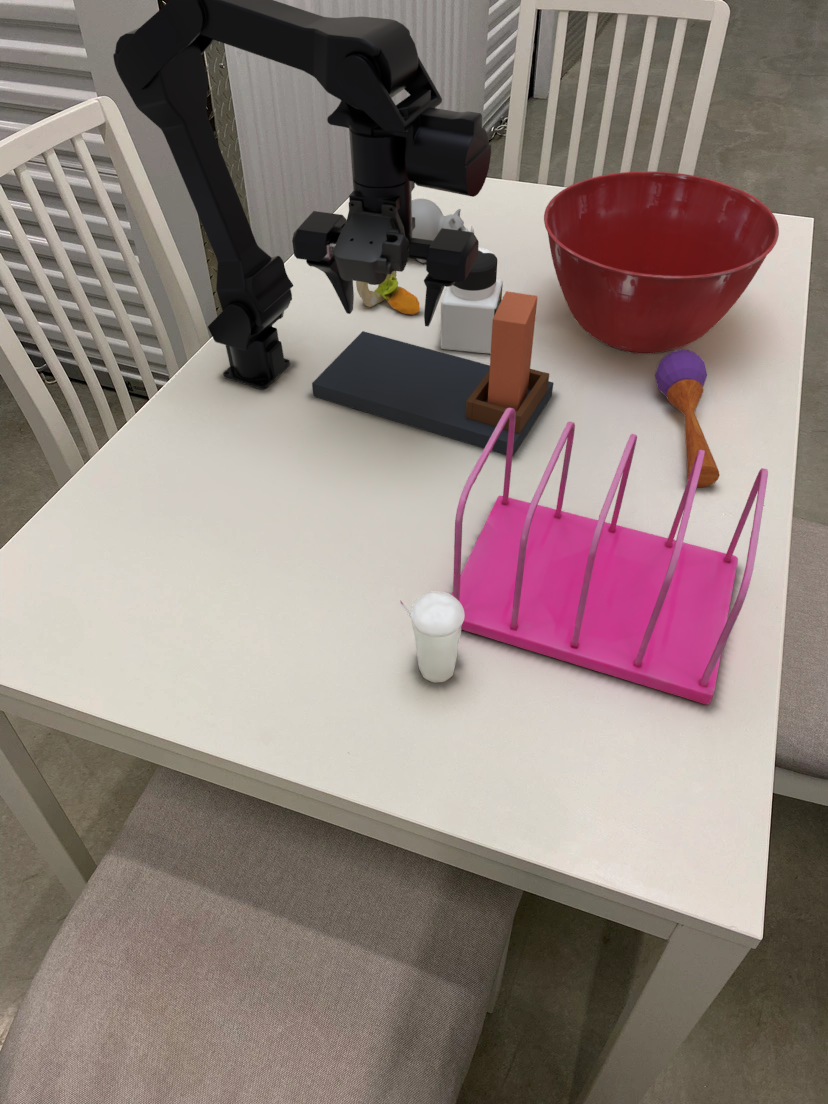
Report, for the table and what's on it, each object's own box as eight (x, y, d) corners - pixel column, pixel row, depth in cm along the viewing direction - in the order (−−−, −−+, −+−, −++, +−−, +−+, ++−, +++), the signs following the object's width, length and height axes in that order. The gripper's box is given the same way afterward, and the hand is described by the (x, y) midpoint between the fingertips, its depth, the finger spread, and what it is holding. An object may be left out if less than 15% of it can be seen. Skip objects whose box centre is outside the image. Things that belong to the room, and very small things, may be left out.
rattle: (377, 328, 113) (373, 249, 105) (350, 301, 118) (343, 224, 110) (423, 312, 116) (423, 235, 107) (395, 287, 121) (392, 211, 112)
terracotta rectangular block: (486, 416, 96) (492, 318, 87) (498, 387, 100) (505, 290, 91) (516, 422, 96) (525, 324, 86) (527, 392, 99) (537, 295, 90)
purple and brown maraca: (676, 460, 87) (652, 343, 100) (674, 497, 92) (652, 381, 104) (734, 454, 86) (703, 336, 99) (730, 492, 91) (700, 375, 103)
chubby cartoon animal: (465, 274, 123) (466, 219, 116) (390, 262, 126) (388, 207, 119) (479, 252, 127) (481, 198, 121) (407, 241, 130) (406, 187, 124)
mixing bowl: (512, 367, 106) (521, 255, 95) (555, 262, 125) (567, 158, 113) (737, 405, 100) (776, 290, 89) (748, 289, 118) (781, 181, 107)
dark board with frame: (313, 396, 103) (309, 366, 100) (363, 343, 111) (361, 314, 107) (512, 457, 94) (515, 426, 91) (551, 395, 102) (555, 365, 99)
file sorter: (497, 506, 89) (507, 387, 77) (734, 568, 82) (783, 448, 71) (441, 625, 78) (442, 507, 67) (709, 707, 72) (762, 592, 60)
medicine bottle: (492, 355, 108) (498, 271, 100) (440, 349, 109) (440, 266, 101) (499, 326, 113) (505, 243, 104) (449, 321, 114) (450, 238, 105)
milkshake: (401, 650, 76) (398, 581, 69) (458, 646, 76) (461, 576, 69) (405, 692, 73) (402, 623, 66) (464, 687, 73) (468, 618, 66)
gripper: (259, 199, 76) (282, 344, 88) (450, 225, 72) (448, 373, 84) (306, 153, 84) (321, 292, 95) (482, 173, 79) (476, 316, 91)
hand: (388, 318), depth 91 cm, fingers open, 9 cm apart
